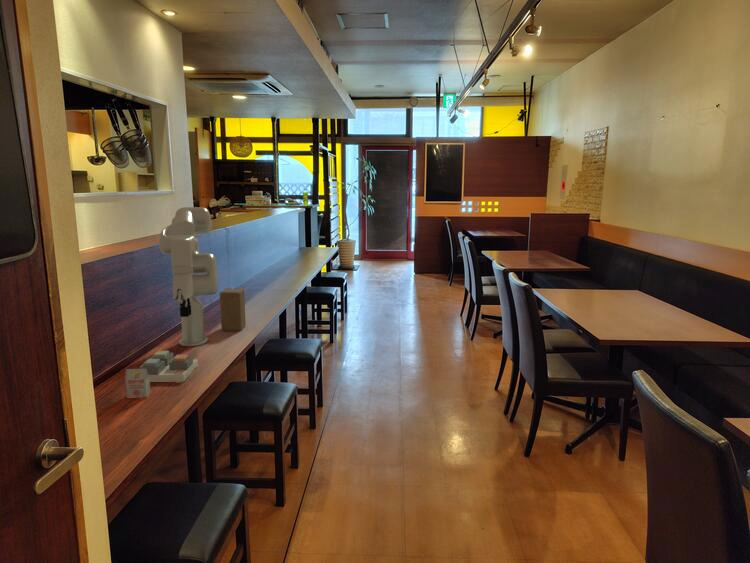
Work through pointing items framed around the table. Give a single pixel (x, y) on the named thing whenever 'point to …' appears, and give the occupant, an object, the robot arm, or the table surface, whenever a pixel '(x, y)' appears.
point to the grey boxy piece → (137, 383)
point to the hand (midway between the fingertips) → (185, 315)
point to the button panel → (170, 369)
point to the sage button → (161, 354)
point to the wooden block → (232, 309)
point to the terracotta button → (180, 358)
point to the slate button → (152, 362)
